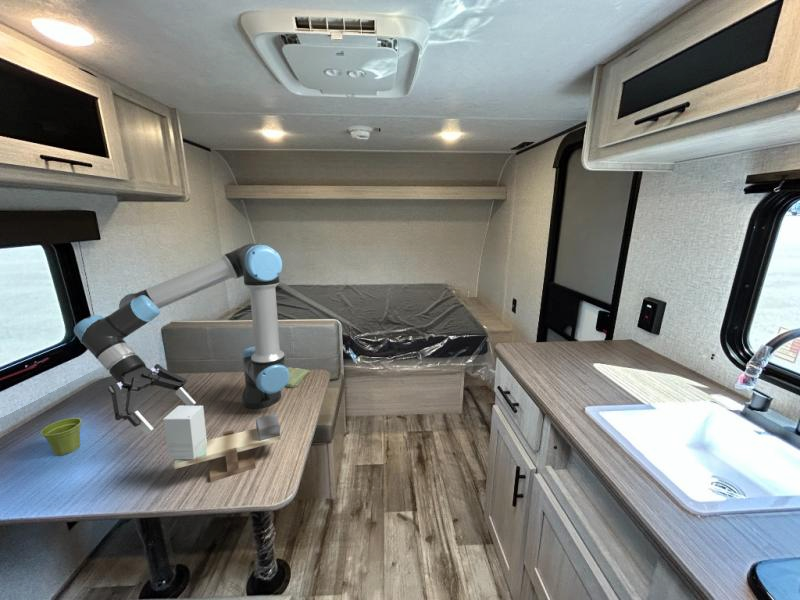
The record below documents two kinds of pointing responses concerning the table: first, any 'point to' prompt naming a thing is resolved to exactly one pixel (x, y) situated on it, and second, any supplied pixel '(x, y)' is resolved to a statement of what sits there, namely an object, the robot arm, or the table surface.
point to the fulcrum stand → (231, 462)
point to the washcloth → (296, 376)
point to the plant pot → (63, 435)
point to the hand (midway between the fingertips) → (173, 418)
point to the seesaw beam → (238, 441)
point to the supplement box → (185, 432)
